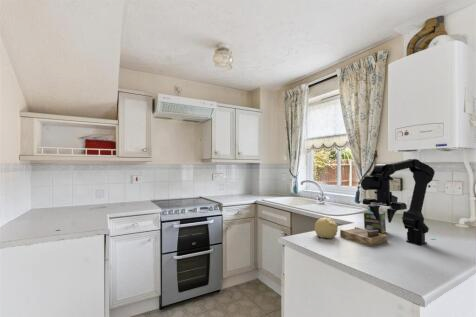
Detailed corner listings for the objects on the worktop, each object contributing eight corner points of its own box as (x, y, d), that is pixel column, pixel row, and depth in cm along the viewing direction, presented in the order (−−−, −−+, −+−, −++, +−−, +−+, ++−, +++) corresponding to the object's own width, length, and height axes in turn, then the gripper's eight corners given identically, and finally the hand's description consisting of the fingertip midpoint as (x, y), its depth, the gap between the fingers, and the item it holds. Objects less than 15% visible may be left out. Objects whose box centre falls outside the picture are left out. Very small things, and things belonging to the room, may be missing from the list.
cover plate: (382, 237, 122) (382, 230, 122) (369, 240, 117) (369, 233, 117) (356, 230, 135) (356, 223, 135) (344, 232, 131) (344, 226, 131)
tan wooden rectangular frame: (387, 242, 121) (387, 235, 121) (370, 246, 115) (370, 239, 115) (356, 233, 137) (356, 227, 137) (340, 236, 131) (340, 229, 131)
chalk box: (386, 231, 140) (385, 206, 140) (381, 235, 133) (380, 208, 134) (369, 228, 146) (368, 204, 147) (363, 231, 140) (363, 206, 140)
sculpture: (340, 240, 124) (339, 220, 124) (316, 239, 126) (315, 219, 127) (335, 234, 135) (335, 215, 135) (313, 233, 138) (313, 214, 138)
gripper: (413, 190, 111) (414, 223, 111) (375, 187, 128) (375, 215, 128) (399, 191, 107) (399, 226, 106) (361, 188, 123) (362, 218, 123)
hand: (383, 221), depth 116 cm, fingers open, 6 cm apart
